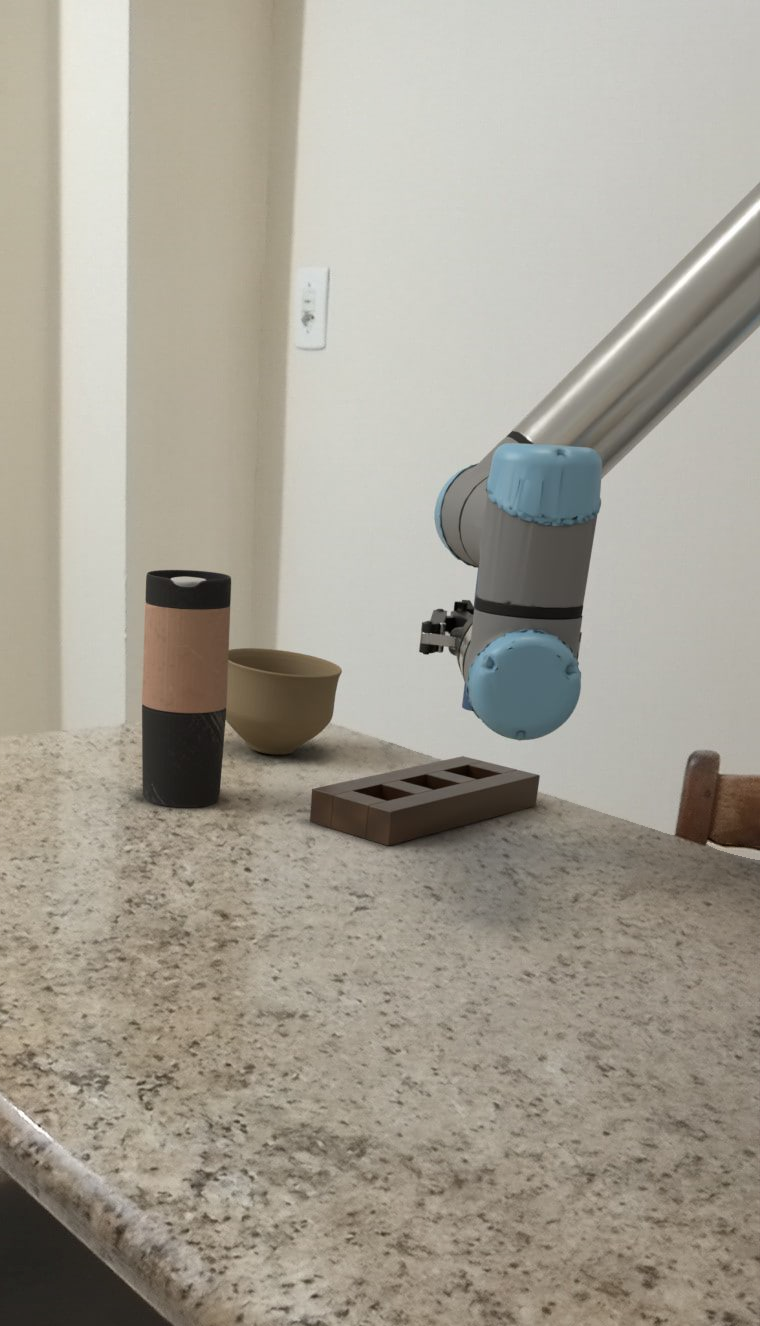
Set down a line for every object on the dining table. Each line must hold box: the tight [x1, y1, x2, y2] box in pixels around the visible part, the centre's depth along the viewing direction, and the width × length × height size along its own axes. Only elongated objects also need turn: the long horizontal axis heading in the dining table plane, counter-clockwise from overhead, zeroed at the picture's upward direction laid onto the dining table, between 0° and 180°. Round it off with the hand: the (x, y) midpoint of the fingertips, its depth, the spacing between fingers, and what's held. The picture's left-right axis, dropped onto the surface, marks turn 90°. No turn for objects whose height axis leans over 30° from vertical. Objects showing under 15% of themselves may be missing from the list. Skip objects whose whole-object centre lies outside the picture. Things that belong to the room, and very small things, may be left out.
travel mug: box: [141, 569, 232, 808], centre depth 124 cm, size 8×8×20 cm
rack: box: [309, 755, 541, 846], centre depth 125 cm, size 9×22×3 cm, turn 134°
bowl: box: [225, 647, 343, 756], centre depth 144 cm, size 13×13×10 cm
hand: (485, 616), depth 129 cm, fingers closed on peg, 3 cm apart
